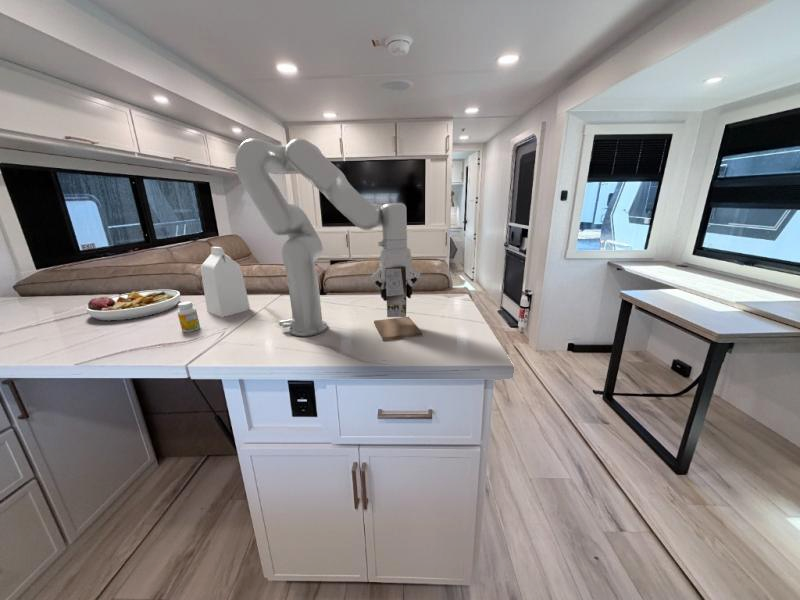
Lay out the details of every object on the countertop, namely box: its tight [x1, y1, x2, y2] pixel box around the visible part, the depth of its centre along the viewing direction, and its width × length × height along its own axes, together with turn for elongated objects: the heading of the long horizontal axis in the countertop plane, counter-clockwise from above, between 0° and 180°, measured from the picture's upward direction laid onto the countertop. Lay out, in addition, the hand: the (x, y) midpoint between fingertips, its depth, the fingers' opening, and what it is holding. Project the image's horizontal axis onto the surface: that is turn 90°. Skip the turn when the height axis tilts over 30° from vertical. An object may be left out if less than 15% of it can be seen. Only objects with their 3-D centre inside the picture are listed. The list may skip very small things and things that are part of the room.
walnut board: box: [373, 316, 423, 342], centre depth 103 cm, size 13×15×1 cm
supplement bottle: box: [177, 300, 201, 333], centre depth 106 cm, size 5×5×10 cm
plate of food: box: [86, 289, 181, 322], centre depth 127 cm, size 30×30×8 cm
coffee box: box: [385, 267, 407, 318], centre depth 99 cm, size 9×6×16 cm
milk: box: [200, 246, 251, 318], centre depth 122 cm, size 12×12×26 cm
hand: (396, 298), depth 100 cm, fingers closed on coffee box, 7 cm apart
